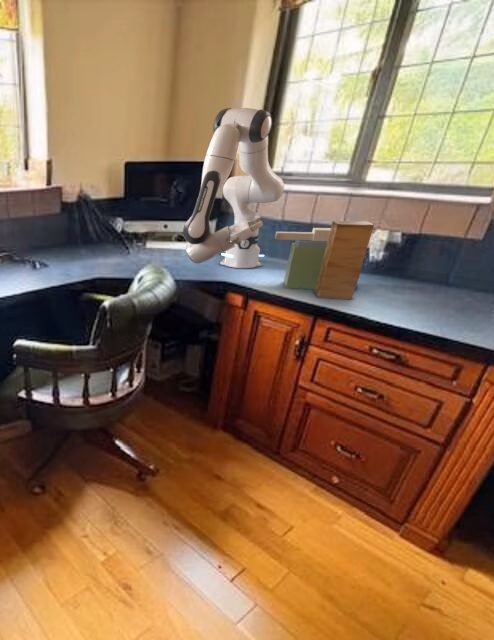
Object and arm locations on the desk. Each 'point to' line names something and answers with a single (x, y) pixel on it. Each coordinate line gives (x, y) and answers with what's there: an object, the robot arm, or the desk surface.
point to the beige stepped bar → (305, 235)
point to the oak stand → (343, 259)
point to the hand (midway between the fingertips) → (261, 221)
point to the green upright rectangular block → (304, 264)
